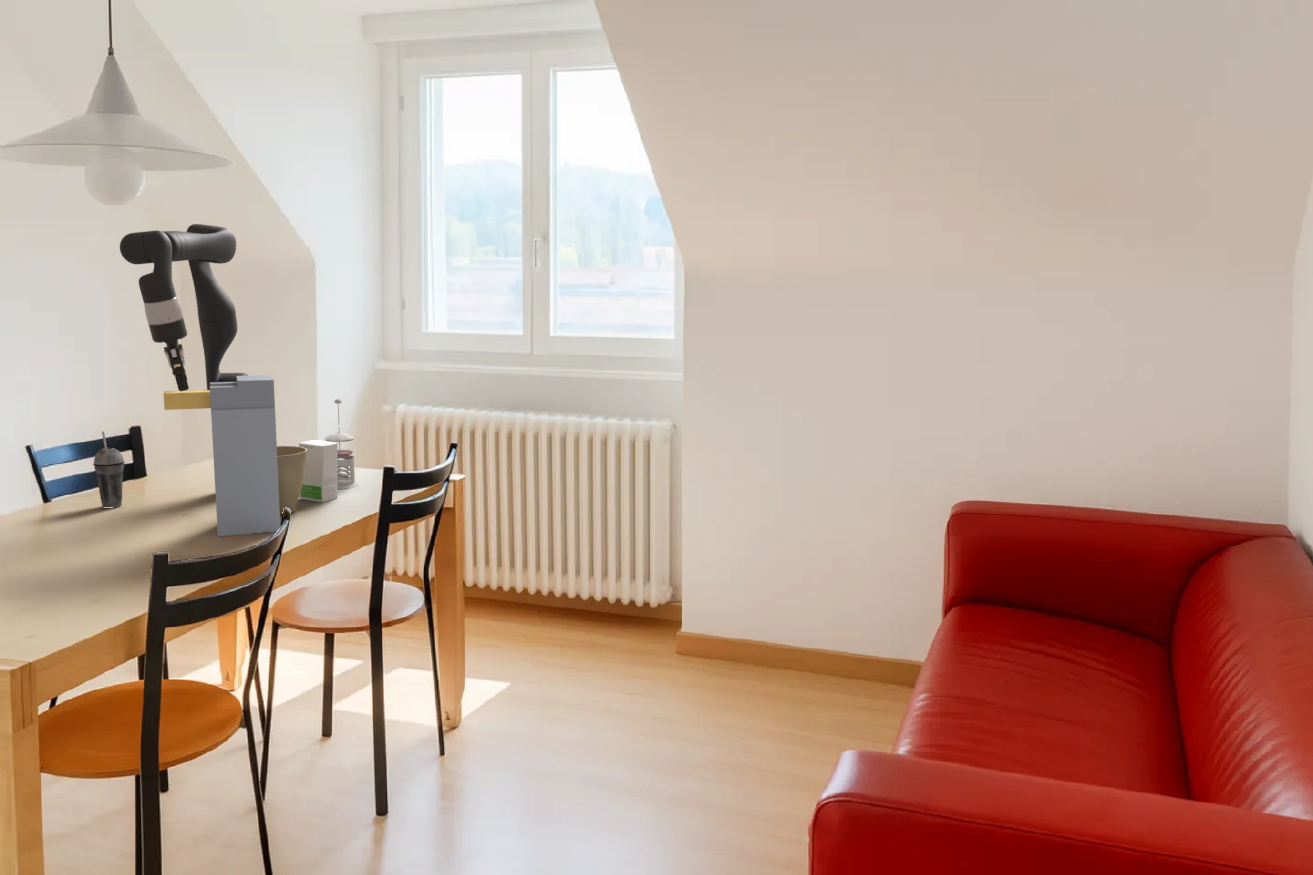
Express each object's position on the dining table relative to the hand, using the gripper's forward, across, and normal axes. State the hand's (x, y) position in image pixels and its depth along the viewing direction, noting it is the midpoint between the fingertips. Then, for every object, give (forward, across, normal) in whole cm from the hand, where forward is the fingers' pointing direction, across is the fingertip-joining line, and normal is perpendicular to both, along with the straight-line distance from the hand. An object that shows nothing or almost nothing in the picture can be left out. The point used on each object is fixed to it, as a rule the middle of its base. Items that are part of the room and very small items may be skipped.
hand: (183, 386), depth 258 cm
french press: (+46, +36, -32) cm, 67 cm away
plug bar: (+6, -2, -7) cm, 9 cm away
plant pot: (+40, +9, -14) cm, 43 cm away
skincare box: (+43, +20, -25) cm, 54 cm away
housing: (+36, -6, -6) cm, 37 cm away
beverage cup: (+35, +30, +25) cm, 52 cm away
